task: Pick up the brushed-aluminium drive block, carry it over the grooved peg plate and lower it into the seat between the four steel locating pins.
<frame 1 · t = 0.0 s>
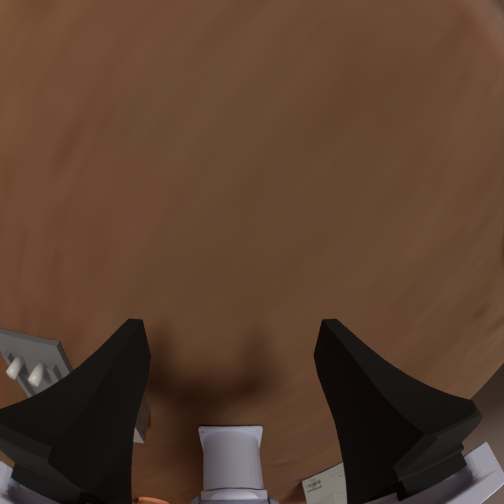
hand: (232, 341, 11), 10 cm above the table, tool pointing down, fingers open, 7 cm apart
potted cactus: (154, 500, 49), on the table
drive: (122, 385, 26), on the table
hard drive box: (340, 467, 42), on the table
grooved peg plate: (52, 390, 26), on the table
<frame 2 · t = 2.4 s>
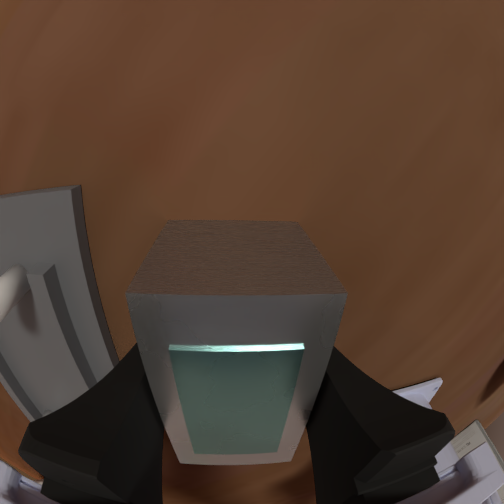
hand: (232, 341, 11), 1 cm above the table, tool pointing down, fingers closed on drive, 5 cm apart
drive: (231, 319, 12), on the table, touching gripper
hard drive box: (442, 448, 28), on the table
grooved peg plate: (41, 357, 13), on the table
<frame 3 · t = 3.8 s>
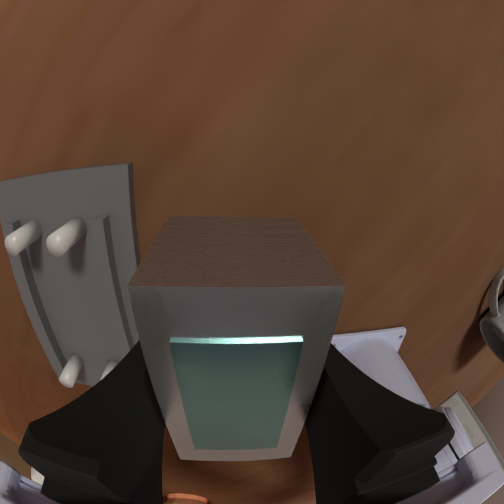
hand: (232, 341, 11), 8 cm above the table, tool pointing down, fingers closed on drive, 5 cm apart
potted cactus: (187, 497, 41), on the table
ceramic mug: (495, 299, 24), on the table
drive: (231, 315, 12), point 6 cm above the table, touching gripper
geodesic sphere: (71, 456, 33), on the table
hard drive box: (427, 420, 35), on the table
grooved peg plate: (78, 299, 19), on the table
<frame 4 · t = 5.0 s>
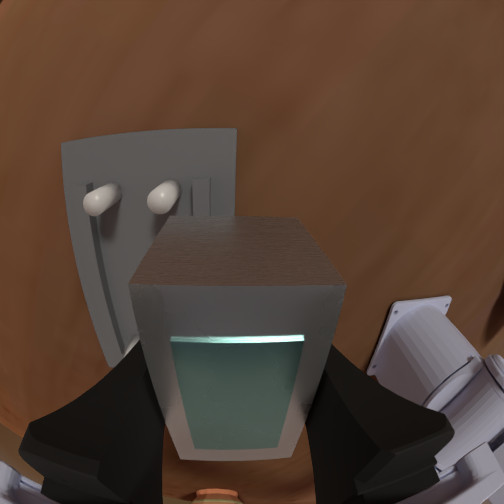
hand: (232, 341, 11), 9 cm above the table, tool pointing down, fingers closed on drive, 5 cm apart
potted cactus: (217, 492, 42), on the table
drive: (232, 315, 12), point 8 cm above the table, touching gripper
grooved peg plate: (152, 272, 20), on the table
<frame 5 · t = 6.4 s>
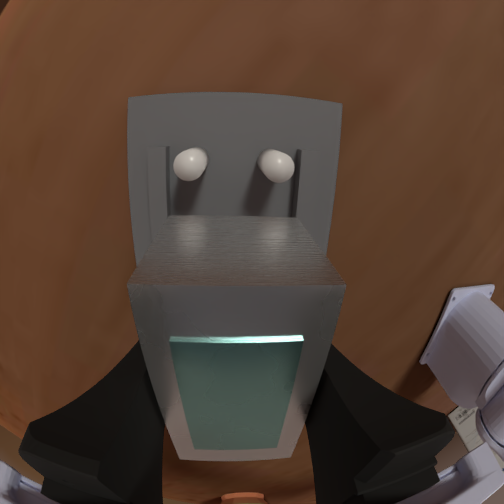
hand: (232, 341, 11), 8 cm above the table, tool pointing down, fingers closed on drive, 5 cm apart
potted cactus: (242, 496, 41), on the table
drive: (231, 315, 12), point 6 cm above the table, touching gripper
hard drive box: (479, 390, 34), on the table
grooved peg plate: (230, 257, 18), on the table
when the fingers open (4 cm above the table, at t = 7.7 s): drive drops 1 cm, resting on grooved peg plate.
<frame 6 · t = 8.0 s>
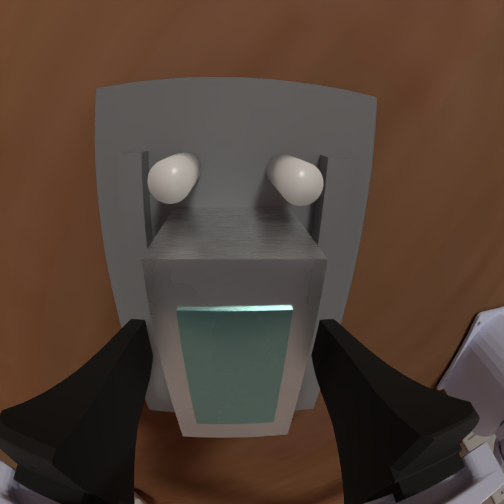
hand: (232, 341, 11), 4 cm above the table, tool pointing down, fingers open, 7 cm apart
drive: (231, 299, 13), point 1 cm above the table, touching grooved peg plate
geodesic sphere: (116, 483, 28), on the table
hard drive box: (489, 404, 30), on the table
grooved peg plate: (230, 292, 14), on the table
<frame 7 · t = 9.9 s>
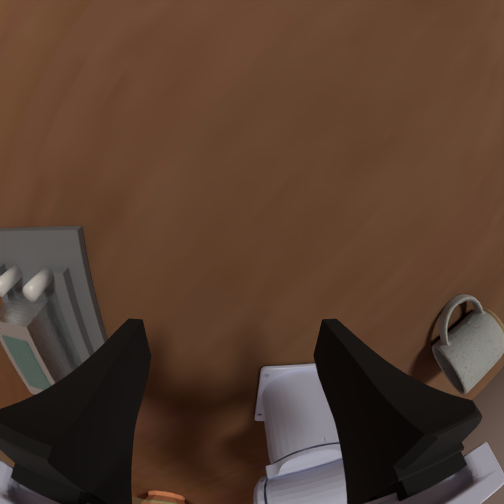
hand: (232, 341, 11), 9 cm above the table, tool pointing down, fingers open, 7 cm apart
potted cactus: (166, 495, 44), on the table
ceramic mug: (452, 325, 26), on the table
drive: (50, 330, 20), point 1 cm above the table, touching grooved peg plate
grooved peg plate: (54, 326, 21), on the table
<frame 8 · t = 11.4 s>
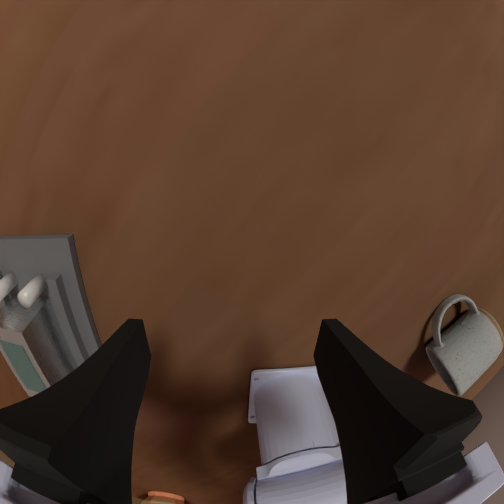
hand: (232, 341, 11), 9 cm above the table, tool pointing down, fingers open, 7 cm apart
potted cactus: (166, 495, 44), on the table
ceramic mug: (446, 326, 26), on the table
drive: (46, 334, 21), point 1 cm above the table, touching grooved peg plate
grooved peg plate: (50, 330, 21), on the table
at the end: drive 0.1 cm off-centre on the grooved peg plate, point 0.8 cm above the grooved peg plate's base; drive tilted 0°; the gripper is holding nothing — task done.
